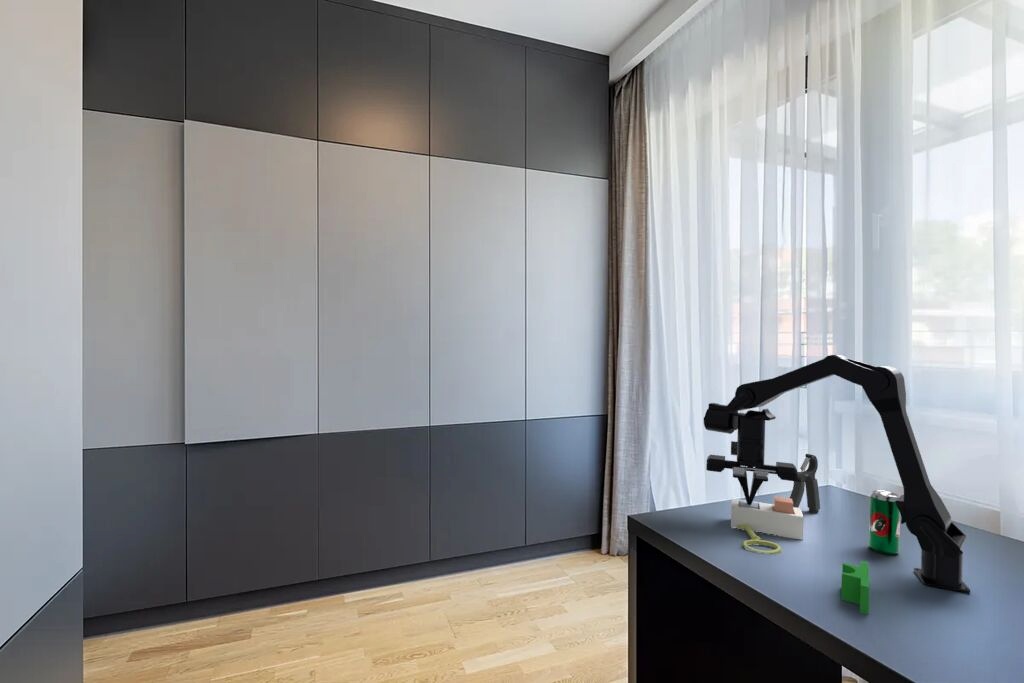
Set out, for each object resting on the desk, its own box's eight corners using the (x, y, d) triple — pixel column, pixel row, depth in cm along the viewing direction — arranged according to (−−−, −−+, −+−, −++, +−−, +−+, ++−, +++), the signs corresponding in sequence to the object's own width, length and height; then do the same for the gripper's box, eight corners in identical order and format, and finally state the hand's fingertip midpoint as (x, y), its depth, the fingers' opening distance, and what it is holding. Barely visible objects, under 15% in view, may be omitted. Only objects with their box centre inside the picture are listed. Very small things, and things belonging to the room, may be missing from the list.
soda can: (903, 557, 101) (905, 498, 101) (873, 553, 103) (875, 495, 103) (893, 547, 106) (895, 491, 106) (865, 543, 108) (866, 488, 108)
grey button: (757, 527, 114) (757, 507, 114) (740, 524, 116) (740, 505, 116) (756, 522, 118) (757, 502, 117) (740, 519, 119) (740, 500, 119)
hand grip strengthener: (781, 517, 123) (782, 456, 123) (811, 510, 129) (813, 452, 129) (790, 520, 121) (791, 458, 121) (820, 513, 127) (822, 453, 127)
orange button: (792, 523, 111) (793, 503, 111) (774, 521, 113) (775, 500, 113) (791, 518, 115) (791, 498, 115) (773, 516, 116) (774, 496, 116)
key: (746, 531, 114) (747, 522, 114) (786, 555, 102) (786, 545, 102) (718, 533, 113) (718, 524, 113) (754, 558, 101) (754, 547, 101)
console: (802, 539, 109) (803, 517, 109) (730, 528, 115) (731, 506, 115) (799, 529, 115) (800, 508, 115) (731, 519, 121) (731, 498, 121)
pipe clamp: (842, 581, 91) (843, 556, 91) (867, 588, 89) (868, 562, 89) (840, 607, 82) (841, 579, 82) (868, 615, 80) (869, 586, 80)
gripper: (793, 435, 120) (791, 500, 120) (709, 427, 128) (708, 489, 128) (798, 444, 110) (796, 515, 110) (707, 435, 117) (705, 501, 118)
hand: (749, 504), depth 117 cm, fingers closed, pressing on grey button
